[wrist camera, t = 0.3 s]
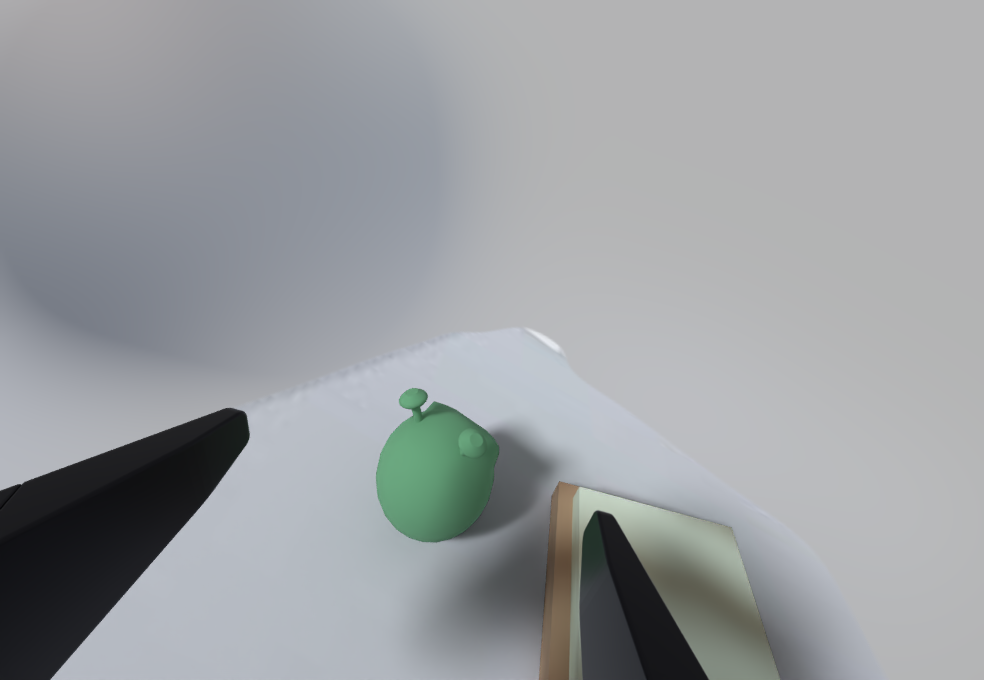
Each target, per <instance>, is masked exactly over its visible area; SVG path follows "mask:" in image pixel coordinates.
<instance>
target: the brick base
mask: <svg viewBox="0 0 984 680" xmlns="http://www.w3.org/2000/svg"><path fill="white" fill-rule="evenodd" d="M596 510H600V511H604V512H607V513H610V514H612V515H613V516H614V517H615V518H616V520H617V522H618V524H619V525H620V527H621V529H622V530H623V532H624V534H625V536H626V537H627V539H628V541H629V542H630V544H631V546H632V548H633V549H634V551H635V553H636V554H637V556H638V558H639V560H640V561H641V563H642V565H643V567H644V568H645V570H646V572H647V573H648V575H649V577H650V579H651V580H652V582H653V584H654V585H655V587H656V589H657V591H658V592H659V594H660V596H661V597H662V599H663V601H664V603H665V604H666V606H667V608H668V609H669V611H670V613H671V615H672V616H673V618H674V620H675V622H676V623H677V625H678V627H679V628H680V630H681V632H682V634H683V635H684V637H685V639H686V640H687V642H688V644H689V646H690V647H691V649H692V651H693V652H694V654H695V656H696V658H697V659H698V661H699V663H700V665H701V666H702V668H703V670H704V671H705V673H706V675H707V677H708V678H709V680H780V677H779V674H778V670H777V667H776V664H775V661H774V658H773V655H772V652H771V649H770V646H769V642H768V639H767V636H766V633H765V630H764V627H763V624H762V621H761V618H760V614H759V611H758V608H757V605H756V602H755V599H754V596H753V593H752V590H751V586H750V583H749V580H748V577H747V574H746V571H745V568H744V565H743V562H742V558H741V555H740V552H739V549H738V546H737V543H736V540H735V537H734V534H733V530H732V528H731V527H727V526H724V525H720V524H716V523H713V522H709V521H705V520H701V519H698V518H694V517H690V516H687V515H683V514H679V513H676V512H672V511H668V510H664V509H661V508H657V507H653V506H650V505H646V504H642V503H639V502H635V501H631V500H627V499H624V498H620V497H616V496H613V495H609V494H605V493H602V492H598V491H594V490H590V489H587V488H583V487H578V486H575V485H571V484H567V483H563V482H560V481H559V483H558V485H557V487H556V489H555V491H554V493H553V495H552V500H551V515H550V529H549V543H548V558H547V572H546V586H545V601H544V615H543V630H542V644H541V658H540V673H539V680H583V678H582V658H581V638H580V618H579V598H580V578H581V559H582V540H583V533H584V530H585V528H586V526H587V524H588V522H589V520H590V519H591V517H592V515H593V513H594V512H595V511H596Z"/></svg>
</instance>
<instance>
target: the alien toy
mask: <svg viewBox="0 0 984 680" xmlns="http://www.w3.org/2000/svg"><path fill="white" fill-rule="evenodd" d="M427 398H428V395H427V393H426V392H425V391H424V390H422V389H417V388H412V389H409V390H407V391H406V392H404V393H403V394H402V395H401V397H400V399H399V404H400V406H402V407H403V408H406V409H412V412H413V416H412V417H410V418H409V419H407V420H406V421H404V422H403V423H402V424H401V425H400V426H399V427H398V428H397V429H396V430H395V431H394V432H393V433H392V434H391V435H390V437H389V438H388V440H387V442H386V444H385V446H384V448H383V449H382V452H381V454H380V459H379V463H378V468H377V472H376V483H377V494H378V499H379V501H380V504H381V506H382V509H383V511H384V514H385V516H386V517H387V518H388V520H389V521H390V522H391V523H392V525H393V526H394V527H395V528H396V529H397V530H398V531H400V532H401V533H403V534H404V535H406V536H407V537H409V538H412V539H415V540H418V541H421V542H440V541H444V540H448V539H452V538H454V537H455V536H457V535H459V534H461V533H462V532H464V531H466V530H467V529H468V528H469V527H470V526H471V525H472V524H473V523H474V522H475V521H476V520H477V519H478V518H479V516H480V515H481V513H482V511H483V509H484V508H485V506H486V504H487V502H488V500H489V497H490V493H491V489H492V485H493V481H494V466H495V463H496V460H497V458H498V455H499V446H498V444H497V443H496V441H495V439H494V438H493V437H492V436H491V435H490V434H489V433H488V432H487V431H486V430H485V429H483V428H482V427H480V426H479V425H477V424H476V423H474V422H473V421H472V420H470V419H469V418H467V417H466V416H464V415H463V414H461V413H460V412H458V411H457V410H455V409H453V408H451V407H449V406H447V405H444V404H441V403H438V402H435V401H434V402H433V403H432V404H431V405H430V406H429V407H428V409H427V410H426V411H424V412H421V409H420V406H422V405H423V404H424V403H425V402H426V400H427Z"/></svg>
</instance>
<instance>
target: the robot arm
mask: <svg viewBox="0 0 984 680" xmlns="http://www.w3.org/2000/svg"><path fill="white" fill-rule="evenodd" d="M249 437H250V433H249V426H248V420H247V415H246V413H245V412H244V411H241V410H237V409H233V408H225V409H222V410H220V411H217V412H214V413H211V414H209V415H206V416H203V417H201V418H198V419H195V420H192V421H190V422H187V423H184V424H182V425H179V426H176V427H173V428H171V429H168V430H165V431H162V432H160V433H157V434H154V435H151V436H149V437H146V438H143V439H141V440H138V441H135V442H132V443H130V444H127V445H124V446H121V447H119V448H116V449H113V450H111V451H108V452H105V453H102V454H100V455H97V456H94V457H91V458H89V459H86V460H83V461H81V462H78V463H75V464H72V465H70V466H67V467H64V468H61V469H59V470H56V471H53V472H50V473H48V474H45V475H42V476H40V477H37V478H34V479H31V480H29V481H26V482H24V483H23V484H22V485H21V484H18V485H15V486H12V487H9V488H7V489H4V490H1V491H0V680H50V679H51V678H52V677H53V676H54V675H55V674H56V672H57V671H58V670H59V669H60V668H61V667H62V666H63V664H64V663H65V662H66V661H67V660H68V659H69V657H70V656H71V655H72V654H73V653H74V652H75V651H76V649H77V648H78V647H79V646H80V645H81V644H82V643H83V641H84V640H85V639H86V638H87V637H88V636H89V634H90V633H91V632H92V631H93V630H94V629H95V628H96V626H97V625H98V624H99V623H100V622H101V621H102V620H103V618H104V617H105V616H106V615H107V614H108V613H109V611H110V610H111V609H112V608H113V607H114V606H115V605H116V603H117V602H118V601H119V600H120V599H121V598H122V597H123V595H124V594H125V593H126V592H127V591H128V590H129V588H130V587H131V586H132V585H133V584H134V583H135V582H136V580H137V579H138V578H139V577H140V576H141V575H142V574H143V572H144V571H145V570H146V569H147V568H148V567H149V565H150V564H151V563H152V562H153V561H154V560H155V559H156V557H157V556H158V555H159V554H160V553H161V552H162V551H163V549H164V548H165V547H166V546H167V545H168V544H169V542H170V541H171V540H172V539H173V538H174V537H175V536H176V534H177V533H178V532H179V531H180V530H181V529H182V528H183V526H184V525H185V524H186V523H187V522H188V521H189V519H190V518H191V517H192V516H193V515H194V514H195V513H196V511H197V510H198V509H199V508H200V507H201V506H202V504H203V503H204V502H205V501H206V500H207V498H208V497H209V496H210V494H211V493H212V492H213V491H214V489H215V488H216V486H217V485H218V484H219V482H220V481H221V479H222V478H223V477H224V475H225V474H226V472H227V471H228V470H229V468H230V467H231V466H232V464H233V463H234V461H235V460H236V459H237V457H238V456H239V454H240V453H241V452H242V450H243V449H244V447H245V446H246V445H247V443H248V440H249ZM579 618H580V638H581V658H582V678H583V680H709V678H708V677H707V675H706V673H705V671H704V670H703V668H702V666H701V665H700V663H699V661H698V659H697V658H696V656H695V654H694V652H693V651H692V649H691V647H690V646H689V644H688V642H687V640H686V639H685V637H684V635H683V634H682V632H681V630H680V628H679V627H678V625H677V623H676V622H675V620H674V618H673V616H672V615H671V613H670V611H669V609H668V608H667V606H666V604H665V603H664V601H663V599H662V597H661V596H660V594H659V592H658V591H657V589H656V587H655V585H654V584H653V582H652V580H651V579H650V577H649V575H648V573H647V572H646V570H645V568H644V567H643V565H642V563H641V561H640V560H639V558H638V556H637V554H636V553H635V551H634V549H633V548H632V546H631V544H630V542H629V541H628V539H627V537H626V536H625V534H624V532H623V530H622V529H621V527H620V525H619V524H618V522H617V520H616V518H615V517H614V516H613V515H612V514H610V513H607V512H604V511H600V510H596V511H595V512H594V513H593V515H592V517H591V519H590V520H589V522H588V524H587V526H586V528H585V530H584V533H583V540H582V559H581V578H580V598H579Z"/></svg>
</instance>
